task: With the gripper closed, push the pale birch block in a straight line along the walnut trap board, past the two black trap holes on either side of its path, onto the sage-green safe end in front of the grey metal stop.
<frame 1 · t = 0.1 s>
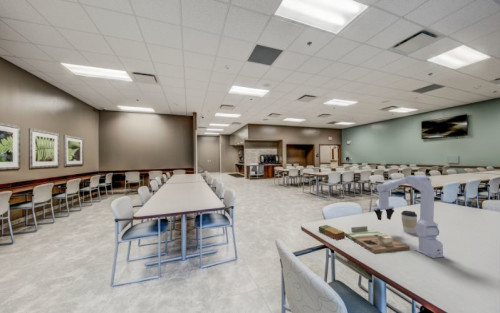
hand: (384, 219, 133), 10 cm above the table, tool pointing down, fingers open, 7 cm apart
coffee cup: (409, 232, 135), on the table
trap board: (373, 241, 120), on the table
block: (385, 244, 112), point 2 cm above the table, touching trap board
carton: (331, 235, 133), on the table
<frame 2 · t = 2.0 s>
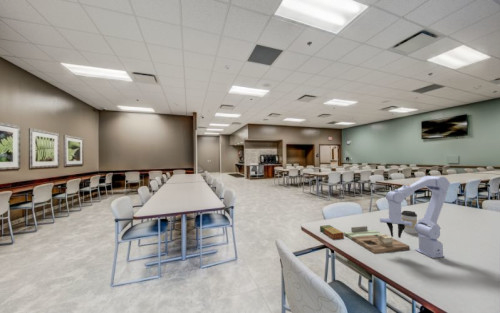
hand: (395, 236, 105), 9 cm above the table, tool pointing down, fingers open, 3 cm apart
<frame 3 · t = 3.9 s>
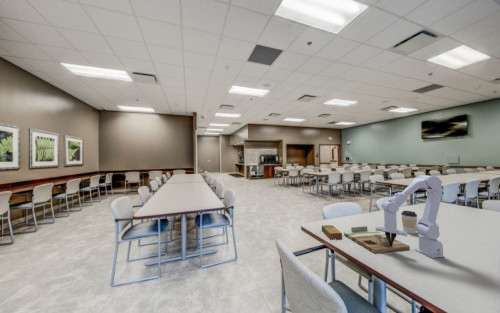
hand: (390, 245, 108), 3 cm above the table, tool pointing down, fingers closed
block: (384, 243, 113), point 2 cm above the table, touching gripper
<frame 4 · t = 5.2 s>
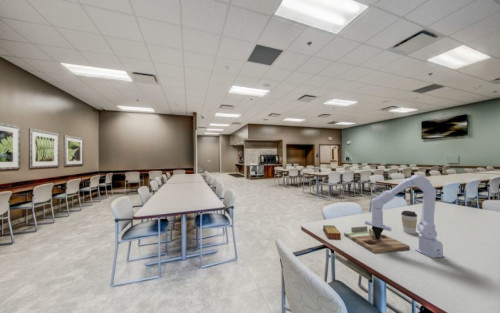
hand: (377, 238, 117), 3 cm above the table, tool pointing down, fingers closed
block: (374, 237, 122), point 2 cm above the table, touching gripper, trap board
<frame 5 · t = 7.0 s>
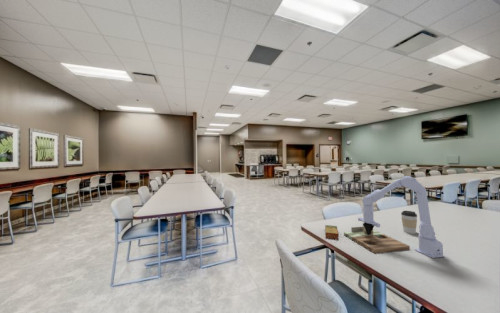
hand: (368, 234, 124), 3 cm above the table, tool pointing down, fingers closed
block: (368, 233, 128), point 2 cm above the table, touching gripper, trap board
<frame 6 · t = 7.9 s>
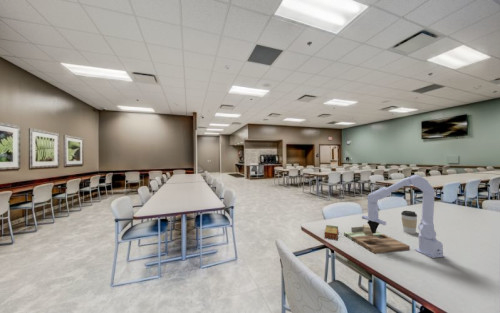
hand: (373, 232, 120), 6 cm above the table, tool pointing down, fingers closed
block: (368, 233, 128), point 2 cm above the table, touching trap board
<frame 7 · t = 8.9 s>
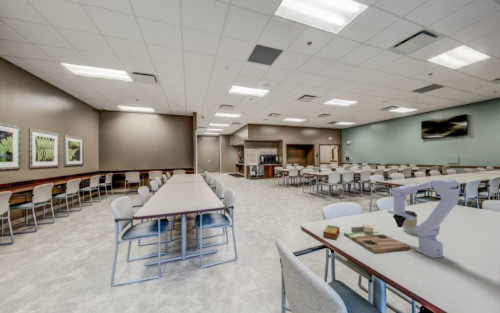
hand: (399, 227, 120), 9 cm above the table, tool pointing down, fingers closed
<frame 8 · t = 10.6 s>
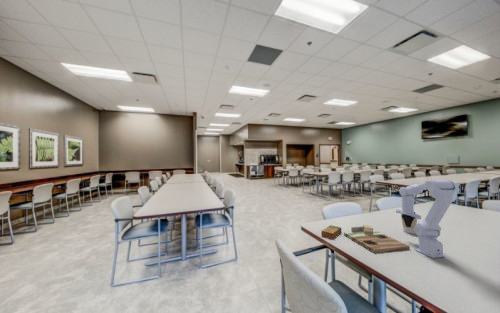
hand: (408, 226, 120), 9 cm above the table, tool pointing down, fingers closed
at the end: block inside the target area on the trap board (3.0 cm from its centre), point 2.0 cm above the trap board's base; block tilted 0° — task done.
